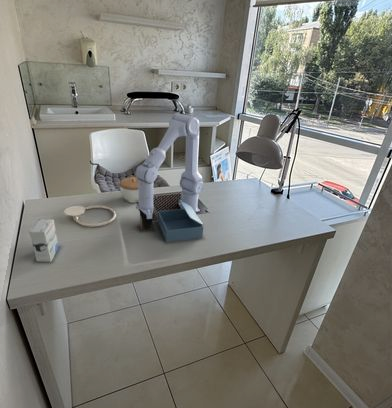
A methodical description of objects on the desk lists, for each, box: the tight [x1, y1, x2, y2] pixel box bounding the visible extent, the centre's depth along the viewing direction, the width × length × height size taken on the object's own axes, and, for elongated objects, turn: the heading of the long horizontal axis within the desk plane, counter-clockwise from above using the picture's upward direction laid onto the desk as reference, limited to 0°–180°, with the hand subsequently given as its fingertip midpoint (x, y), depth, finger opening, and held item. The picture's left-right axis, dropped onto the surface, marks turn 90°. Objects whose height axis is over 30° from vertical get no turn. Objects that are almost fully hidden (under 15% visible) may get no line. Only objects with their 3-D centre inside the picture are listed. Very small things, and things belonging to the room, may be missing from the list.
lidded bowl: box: [119, 176, 139, 204], centre depth 139 cm, size 13×13×11 cm
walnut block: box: [139, 212, 154, 232], centre depth 119 cm, size 4×4×6 cm
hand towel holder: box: [63, 204, 117, 228], centre depth 123 cm, size 17×4×21 cm
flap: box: [178, 198, 204, 226], centre depth 119 cm, size 16×7×1 cm
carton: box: [157, 208, 204, 243], centre depth 120 cm, size 16×15×5 cm
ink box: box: [29, 218, 59, 263], centre depth 98 cm, size 8×5×12 cm, turn 5°
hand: (146, 225), depth 120 cm, fingers closed on walnut block, 4 cm apart
